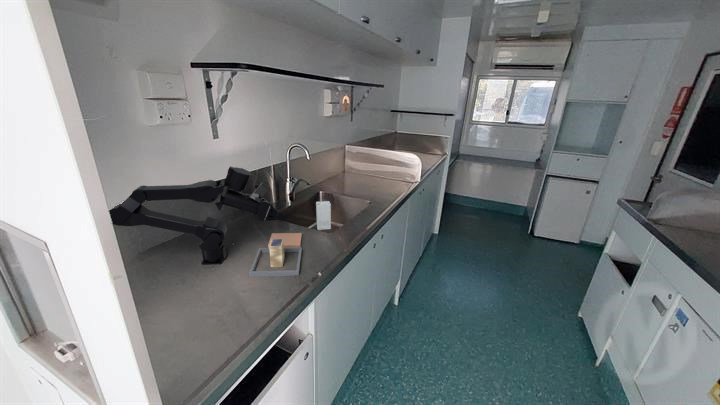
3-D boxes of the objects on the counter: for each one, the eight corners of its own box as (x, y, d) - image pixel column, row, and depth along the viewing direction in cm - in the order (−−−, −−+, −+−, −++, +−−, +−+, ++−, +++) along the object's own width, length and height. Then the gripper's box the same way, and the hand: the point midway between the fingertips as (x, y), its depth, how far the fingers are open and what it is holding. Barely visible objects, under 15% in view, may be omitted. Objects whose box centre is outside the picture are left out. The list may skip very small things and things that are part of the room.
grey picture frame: (249, 276, 93) (248, 272, 92) (259, 251, 107) (258, 248, 107) (298, 275, 95) (298, 271, 94) (301, 250, 109) (301, 247, 109)
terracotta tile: (268, 248, 110) (267, 245, 109) (272, 235, 119) (272, 233, 118) (300, 247, 111) (300, 245, 111) (301, 235, 120) (301, 232, 120)
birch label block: (270, 267, 98) (269, 246, 95) (273, 259, 103) (271, 238, 100) (282, 266, 99) (281, 245, 96) (284, 258, 104) (283, 238, 101)
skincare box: (329, 225, 131) (329, 200, 126) (331, 229, 127) (331, 204, 122) (316, 226, 129) (315, 200, 125) (317, 230, 125) (316, 204, 121)
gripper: (250, 179, 88) (298, 196, 94) (248, 178, 105) (289, 193, 111) (236, 213, 87) (286, 228, 93) (237, 207, 104) (278, 220, 110)
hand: (285, 216), depth 102 cm, fingers open, 9 cm apart
